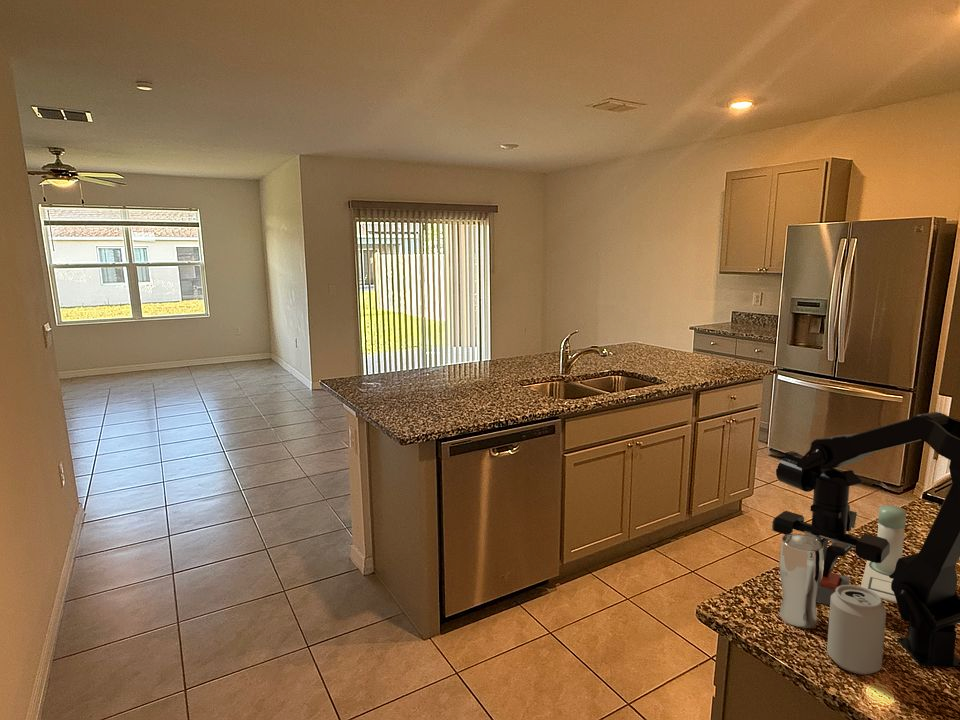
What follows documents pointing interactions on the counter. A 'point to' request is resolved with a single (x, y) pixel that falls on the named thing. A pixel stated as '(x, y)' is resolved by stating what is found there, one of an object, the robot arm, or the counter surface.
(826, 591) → the button housing
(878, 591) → the colouring card
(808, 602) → the beer glass
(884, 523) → the ball
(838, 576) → the button
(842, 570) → the counter surface
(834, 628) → the can
